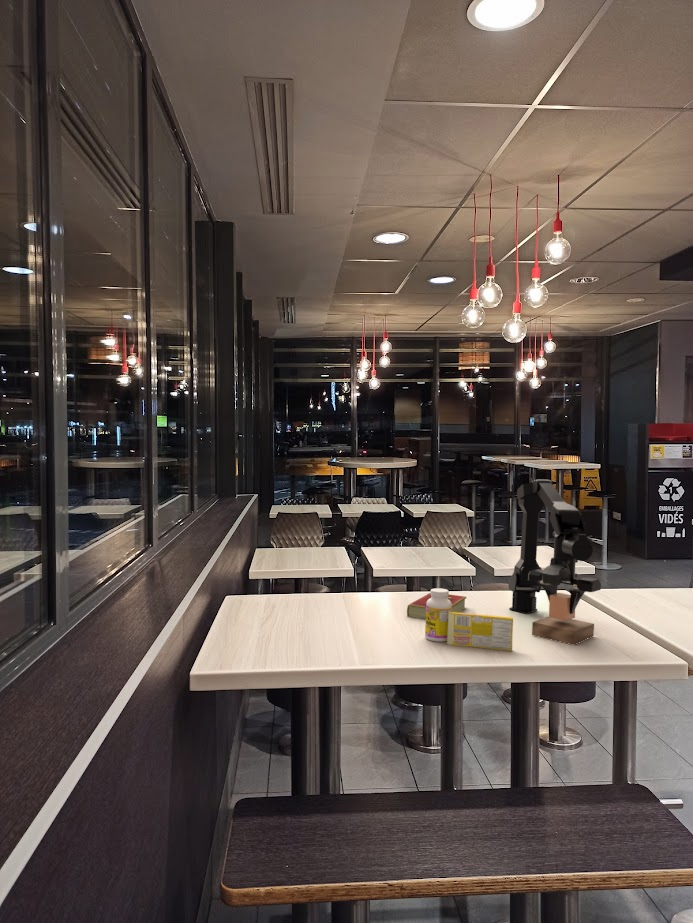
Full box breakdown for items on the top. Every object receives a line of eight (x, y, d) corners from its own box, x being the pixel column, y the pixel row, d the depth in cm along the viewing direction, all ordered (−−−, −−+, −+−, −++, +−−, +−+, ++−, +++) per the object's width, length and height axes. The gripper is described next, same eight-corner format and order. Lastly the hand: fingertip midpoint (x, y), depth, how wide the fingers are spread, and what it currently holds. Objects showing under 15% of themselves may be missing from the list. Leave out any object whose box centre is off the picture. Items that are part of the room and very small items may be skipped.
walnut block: (532, 636, 185) (532, 621, 184) (552, 629, 193) (552, 615, 193) (574, 646, 176) (574, 631, 176) (593, 638, 185) (594, 623, 185)
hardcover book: (406, 617, 200) (407, 603, 200) (429, 603, 219) (430, 590, 219) (445, 623, 195) (446, 609, 195) (466, 609, 214) (466, 595, 214)
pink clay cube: (548, 616, 185) (549, 594, 185) (557, 614, 188) (558, 592, 188) (565, 620, 181) (566, 598, 181) (574, 617, 185) (575, 595, 185)
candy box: (512, 649, 171) (513, 616, 171) (512, 652, 169) (513, 618, 168) (447, 642, 175) (449, 610, 175) (446, 644, 173) (448, 612, 173)
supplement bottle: (420, 636, 180) (422, 587, 179) (442, 634, 182) (444, 586, 182) (432, 643, 173) (434, 593, 173) (455, 641, 176) (457, 592, 175)
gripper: (518, 552, 186) (516, 609, 186) (583, 562, 172) (580, 623, 173) (539, 549, 193) (537, 603, 194) (603, 558, 180) (600, 617, 180)
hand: (562, 611), depth 185 cm, fingers closed on pink clay cube, 5 cm apart
